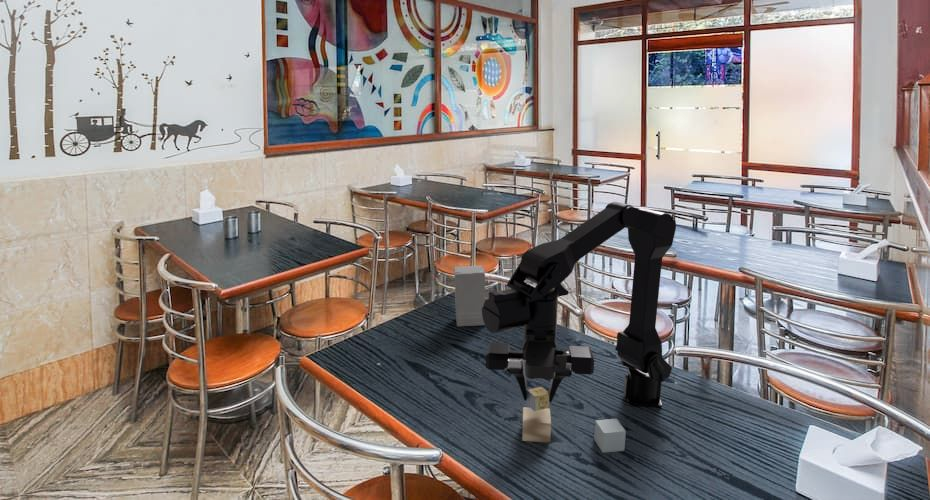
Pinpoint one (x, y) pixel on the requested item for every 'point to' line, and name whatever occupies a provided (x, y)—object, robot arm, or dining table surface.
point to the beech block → (536, 425)
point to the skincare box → (469, 295)
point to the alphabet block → (537, 399)
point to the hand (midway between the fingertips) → (537, 400)
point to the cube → (609, 435)
